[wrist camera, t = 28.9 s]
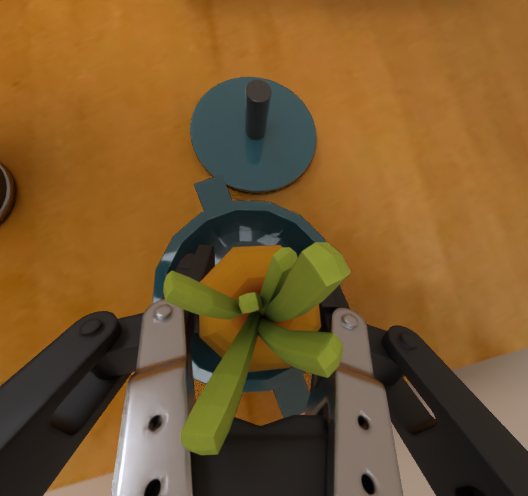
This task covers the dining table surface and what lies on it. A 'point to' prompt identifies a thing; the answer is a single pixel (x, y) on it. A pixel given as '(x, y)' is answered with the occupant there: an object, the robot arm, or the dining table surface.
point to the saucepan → (223, 239)
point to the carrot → (257, 325)
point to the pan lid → (253, 134)
